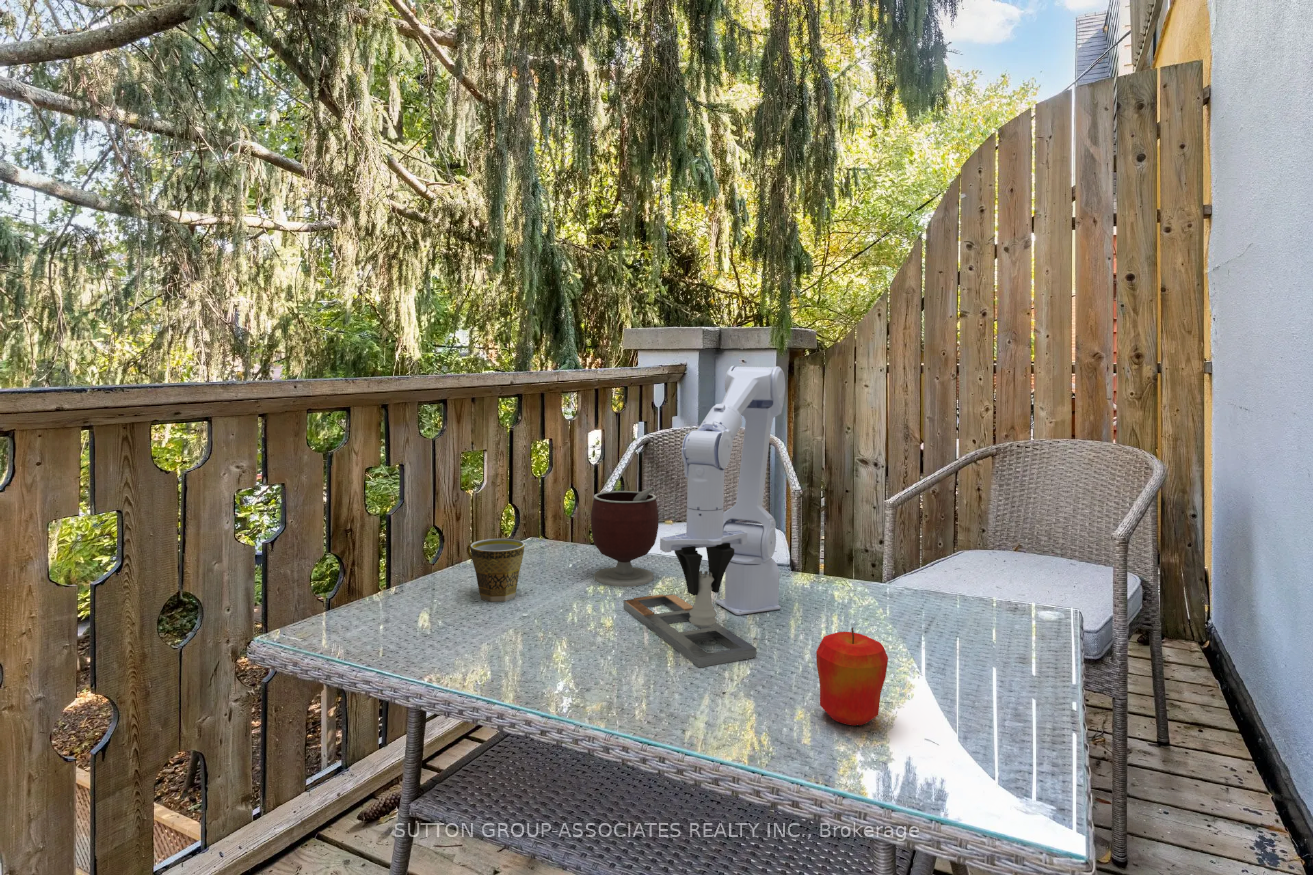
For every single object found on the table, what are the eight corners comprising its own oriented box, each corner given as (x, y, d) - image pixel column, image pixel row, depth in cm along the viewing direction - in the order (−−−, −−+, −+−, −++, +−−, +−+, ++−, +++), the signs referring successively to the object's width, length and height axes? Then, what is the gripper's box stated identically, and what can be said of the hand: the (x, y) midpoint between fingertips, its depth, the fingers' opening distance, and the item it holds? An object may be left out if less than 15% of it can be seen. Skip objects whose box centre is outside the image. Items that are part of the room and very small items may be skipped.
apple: (809, 726, 92) (812, 633, 91) (819, 699, 100) (823, 612, 99) (881, 740, 89) (886, 643, 88) (886, 710, 97) (891, 621, 96)
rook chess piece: (709, 629, 116) (710, 578, 115) (683, 623, 118) (684, 573, 118) (721, 621, 120) (723, 571, 119) (696, 616, 122) (698, 568, 121)
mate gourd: (576, 576, 156) (577, 481, 154) (627, 565, 166) (628, 475, 164) (625, 593, 145) (626, 491, 143) (676, 580, 154) (678, 484, 152)
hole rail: (672, 602, 140) (672, 593, 140) (756, 657, 114) (756, 646, 114) (623, 608, 136) (623, 599, 136) (699, 667, 110) (699, 656, 110)
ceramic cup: (535, 594, 143) (535, 543, 142) (498, 608, 135) (498, 553, 134) (486, 583, 150) (486, 534, 149) (447, 595, 142) (447, 543, 141)
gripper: (675, 515, 111) (673, 605, 112) (758, 508, 117) (756, 594, 118) (654, 506, 117) (653, 591, 118) (735, 501, 123) (732, 582, 125)
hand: (703, 592), depth 119 cm, fingers closed on rook chess piece, 3 cm apart
